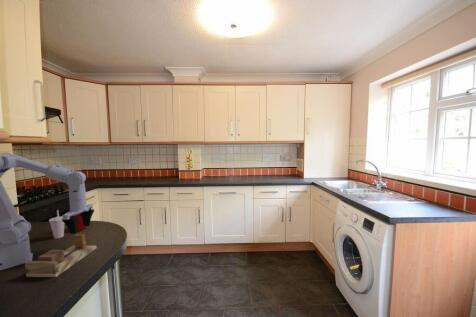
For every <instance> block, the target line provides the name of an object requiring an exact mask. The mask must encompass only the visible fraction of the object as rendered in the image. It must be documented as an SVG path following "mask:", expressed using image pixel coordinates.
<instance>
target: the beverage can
mask: <svg viewBox="0 0 476 317" xmlns="http://www.w3.org/2000/svg"><path fill="white" fill-rule="evenodd" d="M74 217H75V218H79V219H78V222H77V232H81V231H83V230H85V229H86V228H88V226H84V225H83V220H82V217H81V214H77V215H75V216H74Z"/></svg>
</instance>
